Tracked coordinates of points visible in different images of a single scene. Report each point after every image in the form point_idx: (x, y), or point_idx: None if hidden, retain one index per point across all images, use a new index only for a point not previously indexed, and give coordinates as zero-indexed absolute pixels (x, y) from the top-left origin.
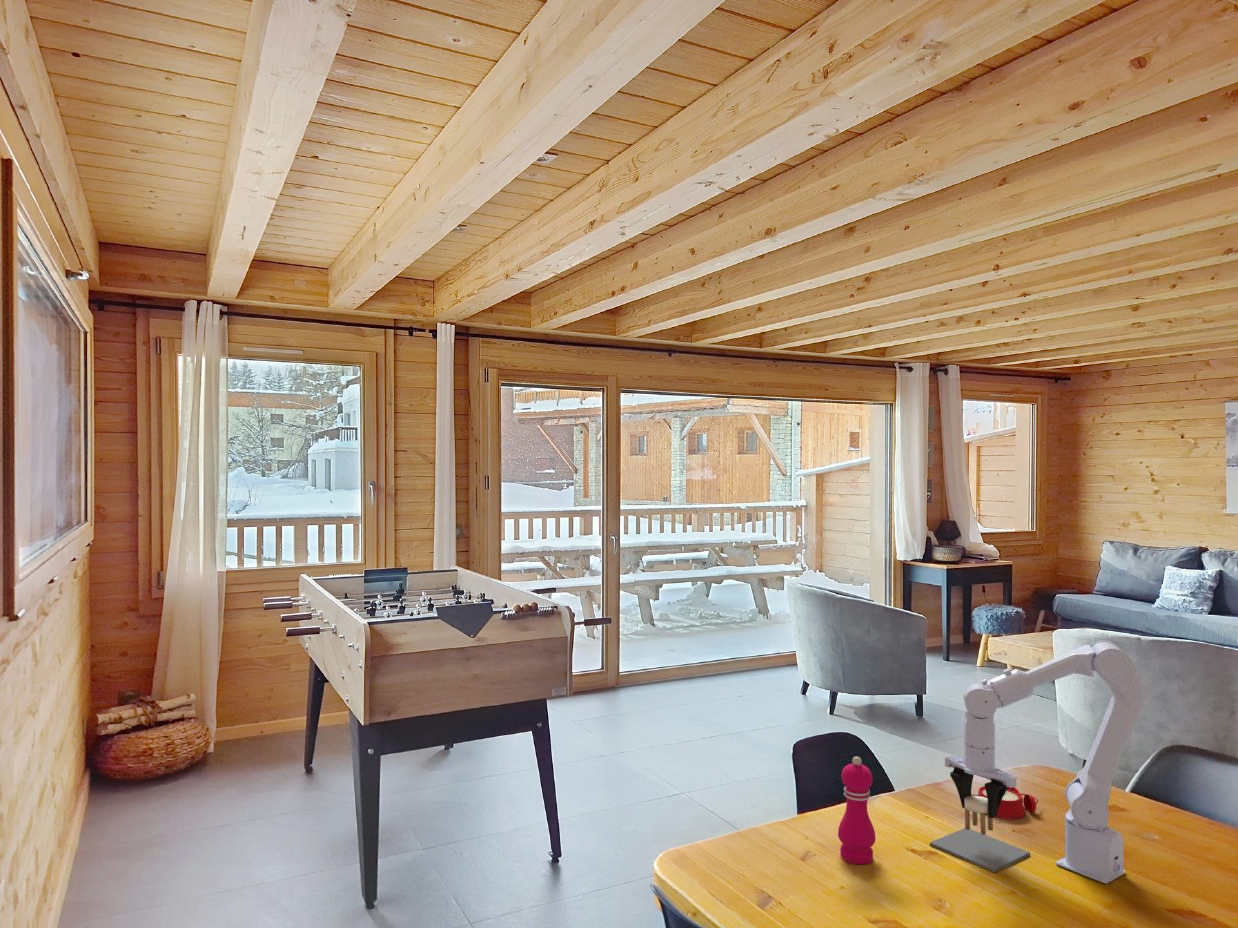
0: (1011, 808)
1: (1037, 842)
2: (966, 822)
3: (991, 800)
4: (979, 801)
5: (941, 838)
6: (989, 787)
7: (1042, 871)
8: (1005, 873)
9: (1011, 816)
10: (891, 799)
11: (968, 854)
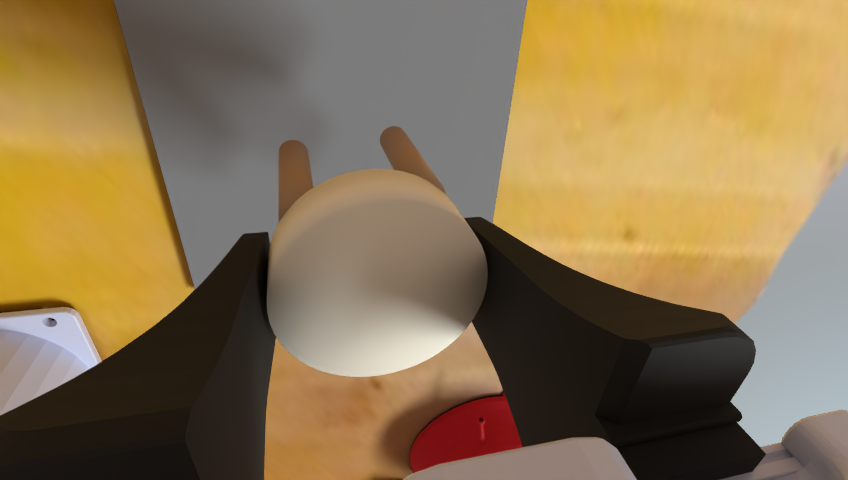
0: (435, 460)
1: (269, 383)
2: (401, 141)
3: (183, 312)
4: (362, 288)
5: (507, 86)
6: (83, 419)
7: (34, 207)
8: (77, 16)
9: (426, 435)
10: (764, 244)
11: (324, 31)
